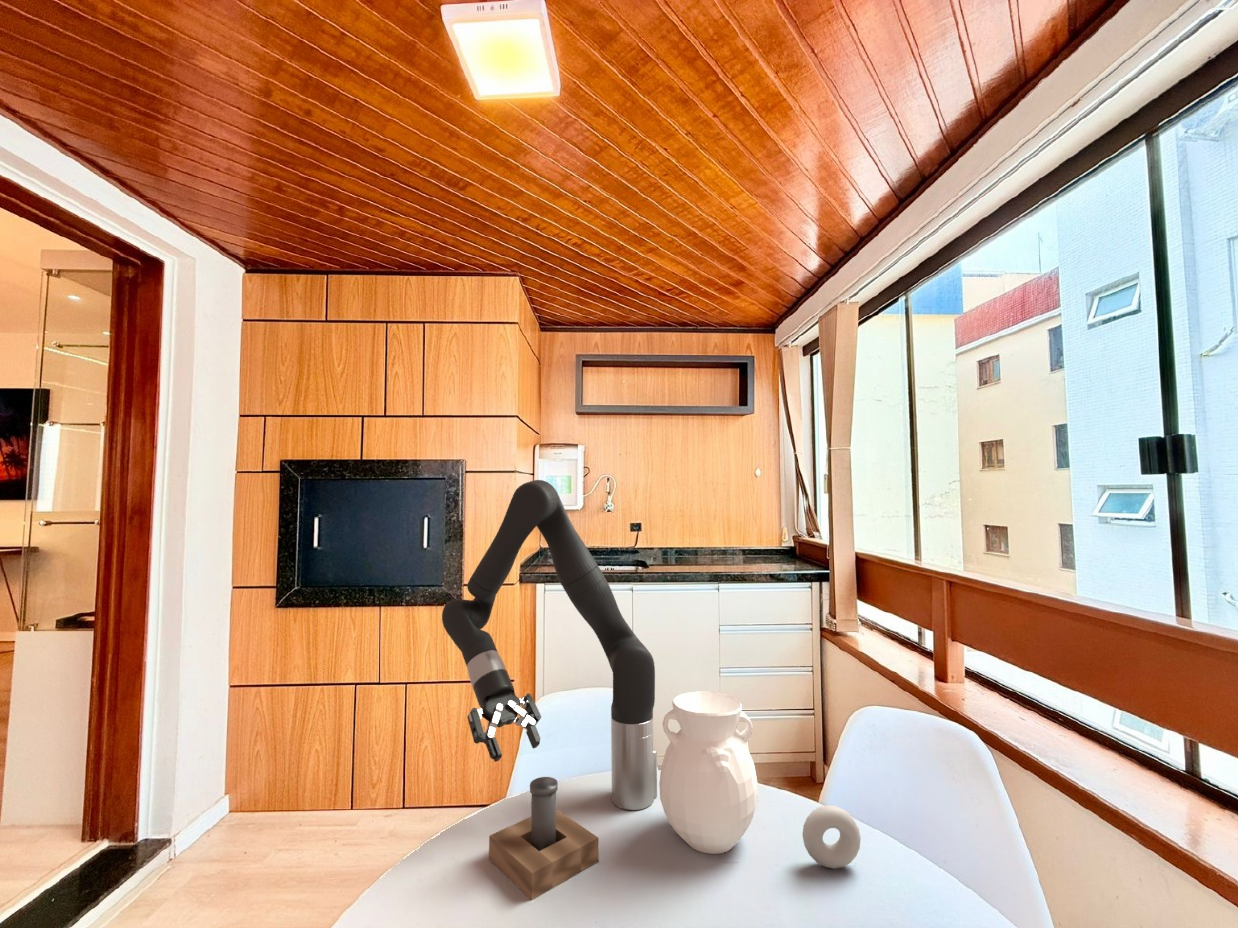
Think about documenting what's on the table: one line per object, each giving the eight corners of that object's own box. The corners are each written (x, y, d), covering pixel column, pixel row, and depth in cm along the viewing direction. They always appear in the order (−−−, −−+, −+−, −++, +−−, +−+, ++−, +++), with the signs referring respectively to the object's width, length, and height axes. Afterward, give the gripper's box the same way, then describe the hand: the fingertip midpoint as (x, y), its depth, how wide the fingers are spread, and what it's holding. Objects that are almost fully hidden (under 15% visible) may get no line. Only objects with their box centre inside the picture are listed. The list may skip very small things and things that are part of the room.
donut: (807, 873, 90) (805, 811, 92) (800, 860, 94) (798, 801, 95) (866, 873, 91) (862, 811, 92) (856, 860, 94) (853, 800, 95)
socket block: (552, 828, 104) (553, 806, 105) (598, 861, 94) (598, 837, 95) (488, 859, 95) (489, 835, 95) (531, 899, 85) (532, 872, 85)
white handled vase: (751, 813, 109) (747, 687, 112) (767, 872, 91) (762, 720, 93) (661, 809, 111) (659, 685, 114) (659, 866, 93) (656, 717, 95)
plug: (546, 847, 98) (547, 774, 99) (562, 860, 94) (563, 783, 96) (523, 859, 95) (524, 783, 96) (539, 873, 91) (540, 793, 92)
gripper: (464, 675, 106) (492, 753, 96) (525, 661, 115) (556, 731, 106) (452, 696, 109) (477, 774, 99) (512, 681, 119) (541, 751, 109)
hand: (518, 752), depth 103 cm, fingers open, 8 cm apart
